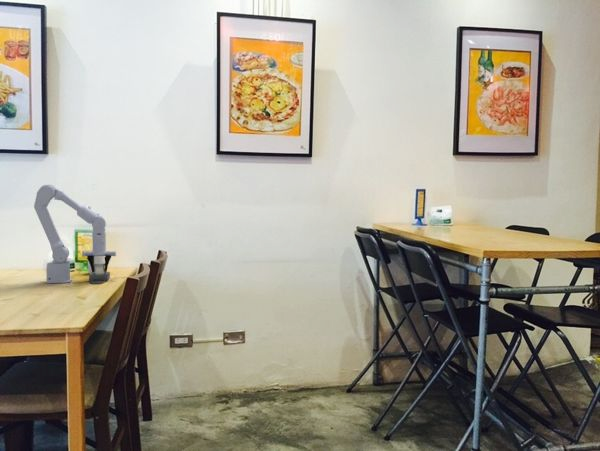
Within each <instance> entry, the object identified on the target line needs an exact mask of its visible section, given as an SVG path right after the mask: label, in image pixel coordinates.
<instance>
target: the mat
mask: <svg viewBox="0 0 600 451" xmlns="http://www.w3.org/2000/svg"><path fill="white" fill-rule="evenodd" d="M89 284H90V285H101V284H105V281H92V282H89Z"/></svg>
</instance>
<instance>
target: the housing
mask: <svg viewBox="0 0 600 451" xmlns="http://www.w3.org/2000/svg"><path fill="white" fill-rule="evenodd" d="M110 275H111V272H110V271H107V272H105V274H94V272H91V273H90V274H88V282H89V283H90V282H92V281H104V282H108V281H110V278H111V276H110Z"/></svg>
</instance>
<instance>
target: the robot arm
mask: <svg viewBox="0 0 600 451" xmlns="http://www.w3.org/2000/svg"><path fill="white" fill-rule="evenodd" d="M52 200H56V201H62V202H63V203H64V204H66V205H67V206H69V207H70V208H71V209H73V210H74V211H76V215H77V216H78V217H79V218H80V219H82V220H83V221H85V222H86V223H87V224H90V225H91V227H92V233H91V234H92V236H91V237H92V251H83V252H82V253H81V257H83V258H84V257H86V259H87V260H88V261H89V263H90V266H91V269H92V272H94V256H104V264H105V272H108V266H109V264H110V261H111V258H112V257H116V256H117V251H109V250H108V251H107V242H106V241H107V239H106V236H107V235H106V234H107V233H106V226H107V223H106V220H105V218H104V217H103V216H102V215H101V216H100V213H96V212H95V211H94V210H92V209H91V208H92V207H91V206H87V205H81V204H79V203H78V202H77V201H76V200H74V199H73V198H72V197H71V196H70V195H68V194H67V193H66V192H64V191H63V190H61V189H59V188H56V187H55V186H54V185H52V184H43V185H42V186H41V187H39V189H38V191H37V192H36V196H35V201H34V205H33V208H34V210H35V213H36V215H37V217H38V219H39V221H40V224H41V226H42V229H43V230H44V233H45V235H46V237H47V240H48V243H49V245H50V249H51V251H52V254H51V255H52V261H51V262H47V264H46V269H45V270H46V271H45V272H46V284H66V283H71V282H72V280H73V278H71V260H70V259H69V258H68V257H69V256H70V250H69V248H68V247H66V245H65V244H64V242H63V240H62V239H61V237H60V234H59V232H58V230H57V227H56V225H55V223H54V220H53V219H52V216H51V214H50V211H49V209H48V206H49V204H50V203H51V201H52ZM102 254H103V255H102ZM88 261H87V262H88Z"/></svg>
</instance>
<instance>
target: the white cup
mask: <svg viewBox="0 0 600 451" xmlns="http://www.w3.org/2000/svg"><path fill="white" fill-rule="evenodd" d="M102 255H103V254H102ZM97 263H104V264H105V256H94V264H97ZM87 269H88V275H90V273H91V272H92V269H91V266H90V263H89V261H88V260H87Z"/></svg>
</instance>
